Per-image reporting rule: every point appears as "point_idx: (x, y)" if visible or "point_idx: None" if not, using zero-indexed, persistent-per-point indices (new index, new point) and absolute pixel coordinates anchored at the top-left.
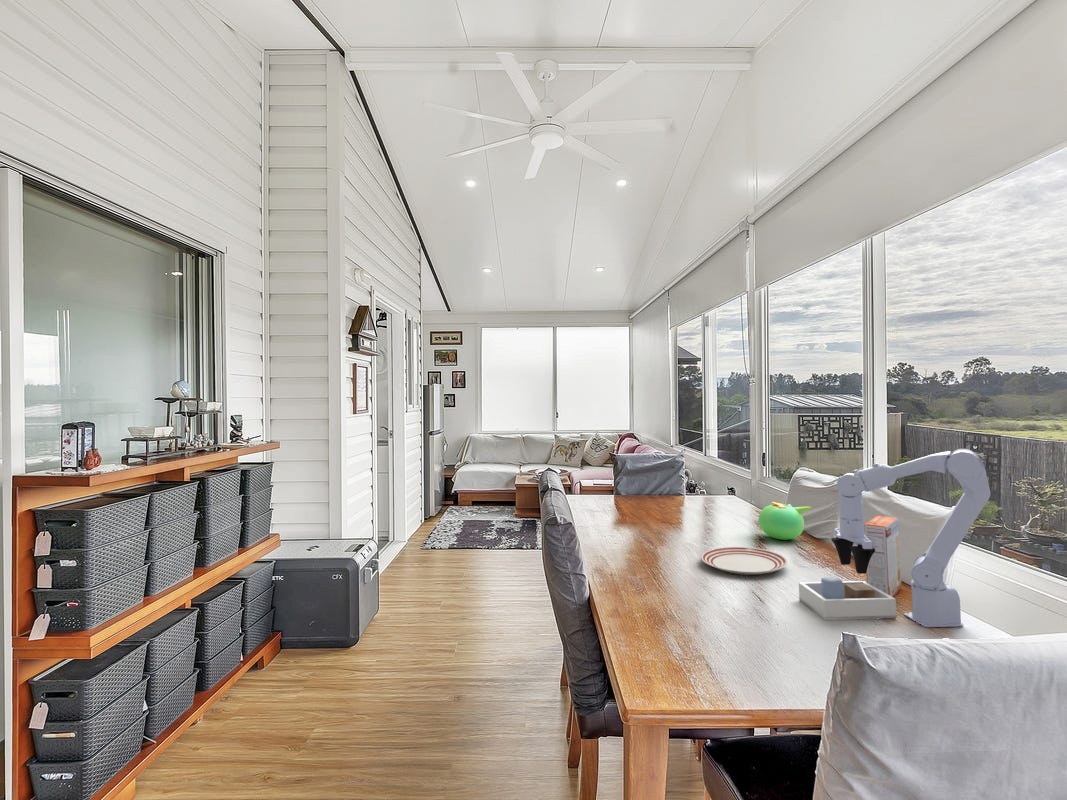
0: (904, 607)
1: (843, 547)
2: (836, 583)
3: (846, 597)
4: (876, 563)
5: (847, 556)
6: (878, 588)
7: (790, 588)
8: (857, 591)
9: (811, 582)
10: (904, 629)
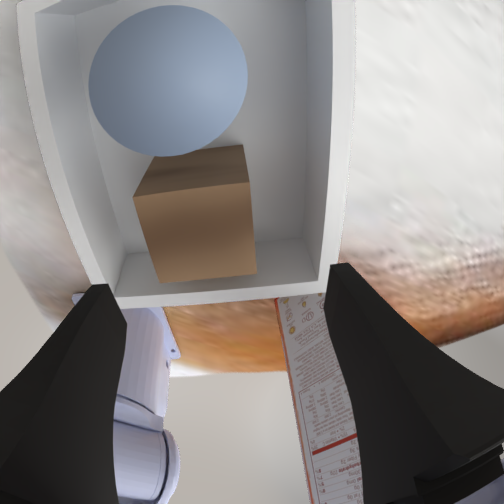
0: (226, 312)
1: (381, 412)
2: (90, 95)
3: (230, 155)
4: (328, 393)
5: (345, 351)
6: (303, 308)
7: (456, 29)
8: (135, 204)
9: (349, 18)
10: (44, 243)
